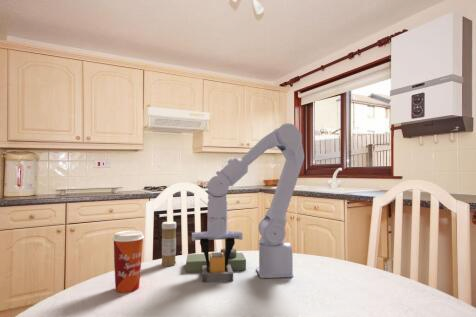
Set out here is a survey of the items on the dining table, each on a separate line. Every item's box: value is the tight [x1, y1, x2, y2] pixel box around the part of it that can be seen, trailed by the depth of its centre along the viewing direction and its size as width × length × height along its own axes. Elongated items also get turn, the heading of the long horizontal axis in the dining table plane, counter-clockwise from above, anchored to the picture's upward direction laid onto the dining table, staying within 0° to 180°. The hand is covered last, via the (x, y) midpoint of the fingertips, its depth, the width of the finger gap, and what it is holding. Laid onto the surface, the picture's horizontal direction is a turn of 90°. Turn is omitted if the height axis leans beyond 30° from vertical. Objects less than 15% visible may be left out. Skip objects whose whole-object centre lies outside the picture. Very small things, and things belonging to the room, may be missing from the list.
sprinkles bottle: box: [161, 221, 177, 267], centre depth 94 cm, size 5×5×13 cm
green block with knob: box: [185, 247, 247, 283], centre depth 88 cm, size 18×17×5 cm
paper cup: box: [112, 230, 145, 294], centre depth 75 cm, size 8×8×14 cm
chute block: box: [209, 251, 226, 273], centre depth 84 cm, size 4×5×6 cm
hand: (217, 264), depth 84 cm, fingers open, 5 cm apart
